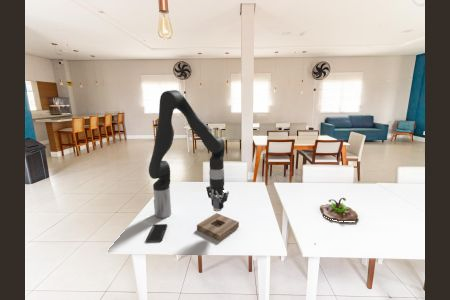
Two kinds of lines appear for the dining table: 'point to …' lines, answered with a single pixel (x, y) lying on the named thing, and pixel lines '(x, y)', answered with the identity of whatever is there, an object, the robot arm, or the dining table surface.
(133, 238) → the dining table surface
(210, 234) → the end holder
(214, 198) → the connector plug
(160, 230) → the phone
